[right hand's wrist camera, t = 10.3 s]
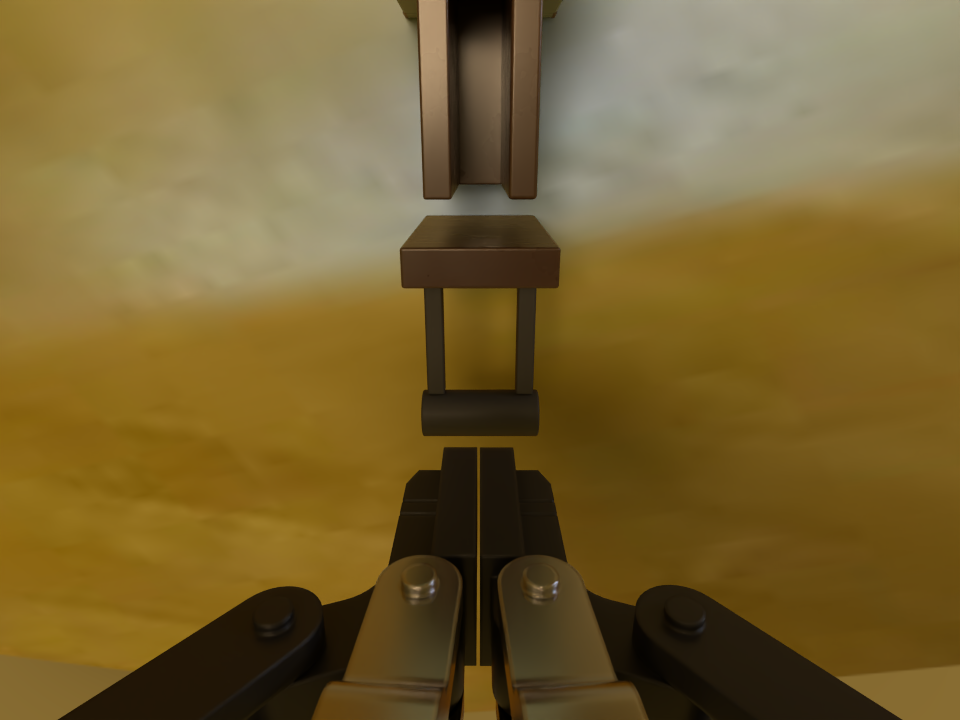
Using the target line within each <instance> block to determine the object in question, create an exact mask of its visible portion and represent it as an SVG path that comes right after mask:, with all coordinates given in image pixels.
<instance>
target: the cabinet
mask: <svg viewBox="0 0 960 720" xmlns="http://www.w3.org/2000/svg"><path fill="white" fill-rule="evenodd" d="M397 1H398V3H399V5H400V7H401V8H402V10H403V14H404V16H405V18H417V0H397ZM562 1H563V0H543V17H551V18H554V17H555V16H556V14H557V10H558V8H559V6H560V4H561V3H562Z"/></svg>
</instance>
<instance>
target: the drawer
mask: <svg viewBox="0 0 960 720" xmlns="http://www.w3.org/2000/svg"><path fill="white" fill-rule="evenodd" d="M542 18H543V0H417V27H418V56H419V85H420V114H421V144H422V173H423V197H424V199H451V198H452V196H453V194H454V193H455V191H456V189H457V188H458V186H459V184H501V185H502V186H503V188H504V190H505V192H506V193H507V195H508V197H509V198H510V199H535V198H536V196H537V173H538V142H539V111H540V80H541V49H542ZM400 264H401V284H402V288H424V301H425V329H426V357H427V385H428V390H424V391H423V395H422V408H421V421H422V433H423V435H424V436H537V435H538V430H539V398H538V392H537V390H533V372H534V343H535V313H536V288H558V286H559V270H560V248H559V246H558V245H557V244H556V243H555V241H554V240H553V239H552V238H551V236H550V235H549V234H548V233H547V231H546V230H545V229H544V228H543V226H542V225H541V224H540V223H539V221H538V220H537V219H536V218H535V216H533V215H461V216H426V217H425V218H424V219H423V221H422V222H421V223H420V224H419V226H418V227H417V228H416V229H415V231H414V232H413V233H412V234H411V236H410V237H409V238H408V239H407V241H406V242H405V243H404V244H403V246H402V247H401V248H400ZM443 288H517V321H516V366H515V390H445V388H446V386H445V344H444V302H443Z"/></svg>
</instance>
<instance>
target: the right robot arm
mask: <svg viewBox="0 0 960 720" xmlns="http://www.w3.org/2000/svg"><path fill="white" fill-rule="evenodd" d="M476 631H477V447H444V451H443V459H442V467H441V470H419V471H418V472H417V473H416V474H415V475H414V476H413V477H412V478H411V479H410V480H409V482H408V483H407V484H406V488H405V492H404V497H403V502H402V506H401V511H400V516H399V520H398V524H397V529H396V533H395V538H394V542H393V547H392V552H391V556H390V561H389V565H388V567H387V568H386V569H385V570H383V572H382V573H381V574H380V576H379V577H378V580H377V582H376V585H374V586H373V587H372V588H370V589H369V590H367V591H366V592H364V593H362V594H360V595H358V596H355V597H353V598H350V599H346V600H343V601H339V602H335V603H331V604H327V605H323V606H322V605H321V602H320V600H319V599H318V597H317V596H316V595H315V594H314V593H312V592H311V591H309V590H306V589H304V588H300V587H291V586H286V587H277V588H272V589H269V590H266V591H263V592H260V593H258V594H256V595H254V596H252V597H250V598H249V599H247V600H245V601H244V602H242V603H241V604H239V605H238V606H236V607H234V608H233V609H231V610H230V611H228V612H227V613H225V614H223V615H222V616H220V617H219V618H217V619H216V620H214V621H212V622H211V623H209V624H208V625H206V626H205V627H203V628H201V629H200V630H198V631H197V632H195V633H193V634H192V635H190V636H189V637H187V638H186V639H184V640H182V641H181V642H179V643H178V644H176V645H175V646H173V647H171V648H170V649H168V650H167V651H165V652H164V653H162V654H160V655H159V656H157V657H156V658H154V659H153V660H151V661H149V662H148V663H146V664H145V665H143V666H142V667H140V668H138V669H137V670H135V671H134V672H132V673H131V674H129V675H127V676H126V677H124V678H123V679H121V680H120V681H118V682H116V683H115V684H113V685H112V686H110V687H109V688H107V689H105V690H104V691H102V692H101V693H99V694H97V695H96V696H94V697H93V698H91V699H90V700H88V701H86V702H85V703H83V704H82V705H80V706H79V707H77V708H75V709H74V710H72V711H71V712H69V713H68V714H66V715H65V716H63V717H61V718H60V719H58V720H463V717H464V666H476ZM480 666H492V689H493V694H494V697H495V699H496V717H497V720H902V719H900V718H899V717H897V716H895V715H894V714H892V713H891V712H889V711H888V710H886V709H884V708H883V707H881V706H880V705H878V704H877V703H875V702H874V701H872V700H870V699H869V698H867V697H866V696H864V695H862V694H861V693H859V692H858V691H856V690H855V689H853V688H851V687H850V686H848V685H847V684H845V683H844V682H842V681H840V680H839V679H837V678H836V677H834V676H833V675H831V674H829V673H828V672H826V671H825V670H823V669H822V668H820V667H818V666H817V665H815V664H814V663H812V662H811V661H809V660H807V659H806V658H804V657H803V656H801V655H800V654H798V653H796V652H795V651H793V650H792V649H790V648H789V647H787V646H785V645H784V644H782V643H781V642H779V641H778V640H776V639H774V638H773V637H771V636H770V635H768V634H766V633H765V632H763V631H762V630H760V629H759V628H757V627H755V626H754V625H752V624H751V623H749V622H748V621H746V620H744V619H743V618H741V617H740V616H738V615H737V614H735V613H733V612H732V611H730V610H729V609H727V608H726V607H724V606H722V605H721V604H719V603H718V602H716V601H715V600H713V599H711V598H710V597H708V596H706V595H705V594H703V593H701V592H698V591H696V590H693V589H690V588H687V587H683V586H677V585H662V586H656V587H653V588H650V589H648V590H647V591H645V592H644V593H643V594H642V595H641V596H640V597H639V598H638V600H637V603H636V606H632V605H628V604H624V603H620V602H616V601H612V600H609V599H606V598H603V597H600V596H598V595H595V594H594V593H592V592H590V591H588V590H587V589H586V588H585V585H584V582H583V580H582V577H581V576H580V574H579V573H578V572H577V570H575V569H574V568H573V567H572V566H571V565H569V564H568V563H567V559H566V555H565V550H564V545H563V541H562V536H561V531H560V526H559V522H558V517H557V512H556V507H555V503H554V498H553V493H552V488H551V484H550V483H549V482H548V481H547V480H546V478H545V477H544V476H543V475H542V474H541V473H540V472H539V471H538V470H516V468H515V459H514V450H513V448H480Z"/></svg>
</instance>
